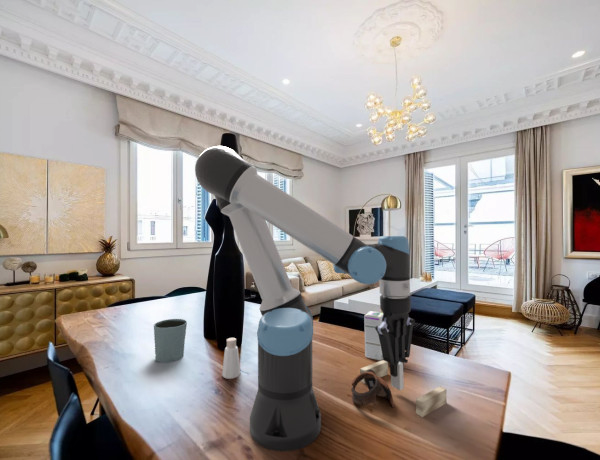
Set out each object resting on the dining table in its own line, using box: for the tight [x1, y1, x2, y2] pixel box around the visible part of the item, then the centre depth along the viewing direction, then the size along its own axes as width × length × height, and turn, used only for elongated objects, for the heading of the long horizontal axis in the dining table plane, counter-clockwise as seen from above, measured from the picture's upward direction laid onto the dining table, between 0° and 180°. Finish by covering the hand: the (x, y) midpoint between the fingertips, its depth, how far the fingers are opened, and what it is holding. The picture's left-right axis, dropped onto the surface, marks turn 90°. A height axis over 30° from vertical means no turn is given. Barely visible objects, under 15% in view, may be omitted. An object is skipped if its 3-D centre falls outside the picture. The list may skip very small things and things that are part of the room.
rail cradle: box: [359, 359, 447, 418], centre depth 73 cm, size 10×19×4 cm, turn 33°
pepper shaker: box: [221, 337, 241, 379], centre depth 82 cm, size 5×5×11 cm
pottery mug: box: [351, 369, 395, 408], centre depth 69 cm, size 12×9×8 cm
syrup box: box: [363, 310, 383, 361], centre depth 95 cm, size 6×6×14 cm
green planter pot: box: [153, 318, 188, 364], centre depth 94 cm, size 10×10×12 cm
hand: (397, 387), depth 72 cm, fingers closed
